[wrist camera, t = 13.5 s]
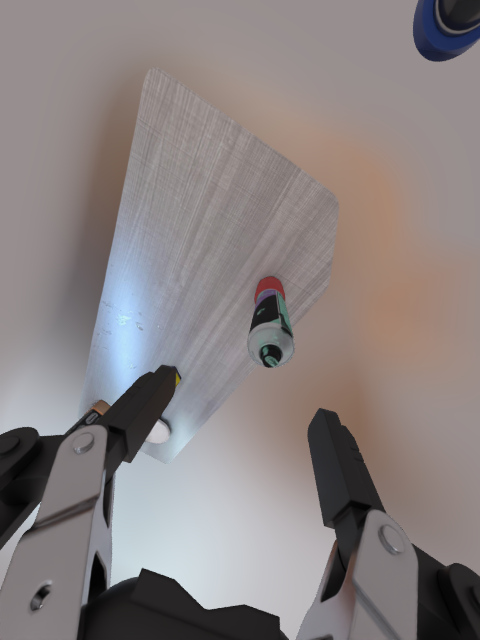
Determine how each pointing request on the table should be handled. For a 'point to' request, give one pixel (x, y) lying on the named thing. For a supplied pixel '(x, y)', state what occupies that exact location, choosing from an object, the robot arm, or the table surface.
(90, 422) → the whiskey bottle
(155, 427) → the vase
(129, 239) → the table surface
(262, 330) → the spray can
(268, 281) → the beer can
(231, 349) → the table surface
